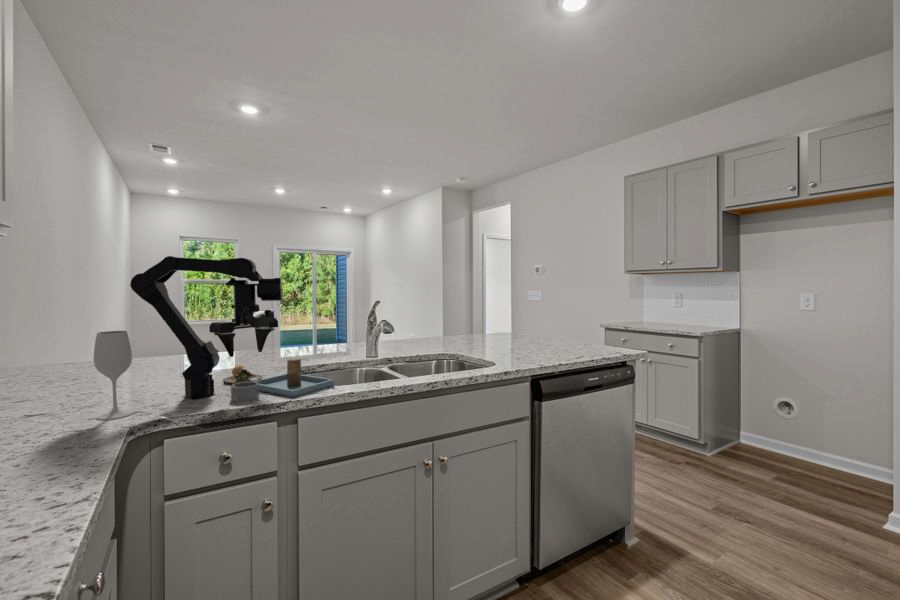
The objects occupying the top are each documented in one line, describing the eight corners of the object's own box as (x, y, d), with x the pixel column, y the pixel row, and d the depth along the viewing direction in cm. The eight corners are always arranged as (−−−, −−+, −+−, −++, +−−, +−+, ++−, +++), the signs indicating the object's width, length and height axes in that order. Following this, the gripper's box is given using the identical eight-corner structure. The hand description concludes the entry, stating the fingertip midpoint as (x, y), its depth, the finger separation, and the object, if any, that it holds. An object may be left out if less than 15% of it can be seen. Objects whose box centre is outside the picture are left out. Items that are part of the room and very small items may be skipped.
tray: (292, 399, 125) (292, 391, 125) (247, 390, 135) (247, 382, 135) (333, 387, 138) (333, 379, 138) (290, 380, 149) (290, 372, 148)
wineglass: (128, 409, 116) (125, 329, 115) (138, 414, 111) (135, 331, 110) (92, 416, 110) (88, 332, 109) (100, 422, 105) (97, 335, 104)
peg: (293, 387, 135) (293, 361, 134) (284, 385, 137) (284, 359, 136) (303, 384, 138) (303, 359, 138) (294, 382, 140) (294, 358, 140)
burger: (252, 387, 139) (251, 364, 139) (215, 387, 140) (214, 364, 139) (268, 379, 151) (268, 357, 151) (234, 379, 152) (233, 357, 151)
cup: (242, 405, 120) (241, 388, 119) (227, 401, 123) (226, 385, 123) (264, 399, 125) (263, 383, 125) (248, 395, 129) (248, 380, 129)
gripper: (232, 303, 117) (233, 362, 117) (289, 300, 133) (290, 351, 134) (207, 302, 122) (209, 358, 123) (265, 299, 138) (266, 349, 139)
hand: (246, 354), depth 130 cm, fingers open, 9 cm apart
